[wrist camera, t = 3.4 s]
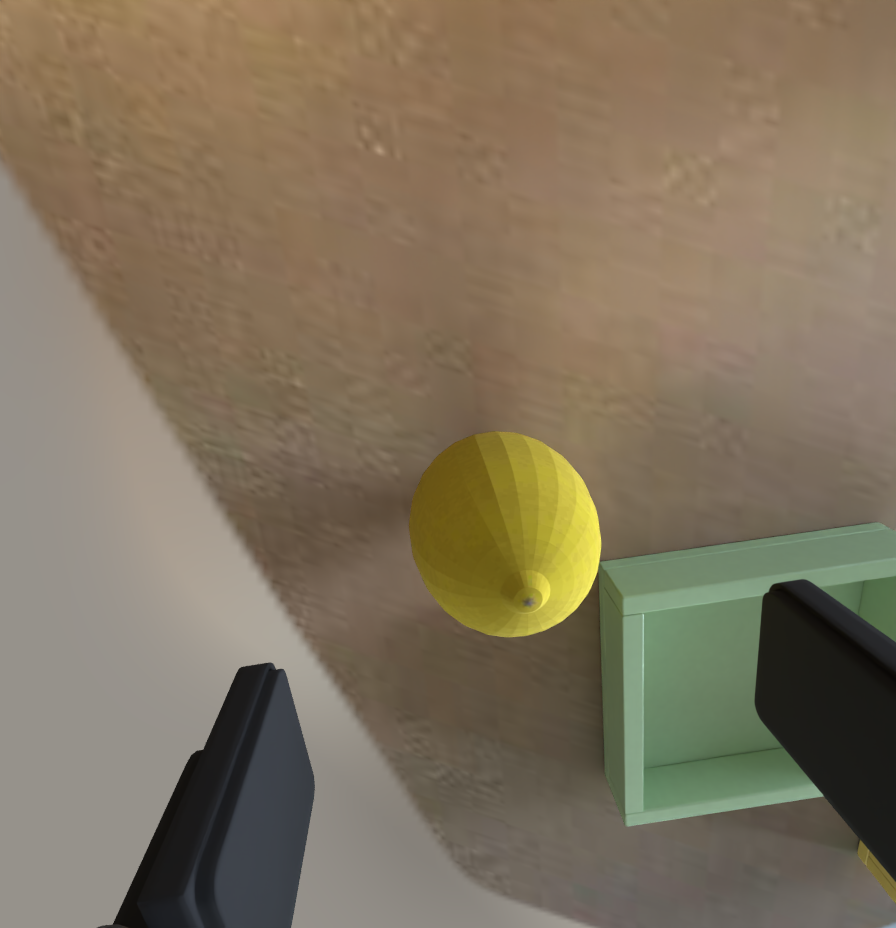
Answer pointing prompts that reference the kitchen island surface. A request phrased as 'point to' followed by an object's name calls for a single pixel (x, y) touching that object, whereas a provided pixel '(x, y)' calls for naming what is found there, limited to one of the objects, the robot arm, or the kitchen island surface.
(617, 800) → the green tray
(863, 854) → the yellow tray
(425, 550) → the lemon
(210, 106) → the kitchen island surface
